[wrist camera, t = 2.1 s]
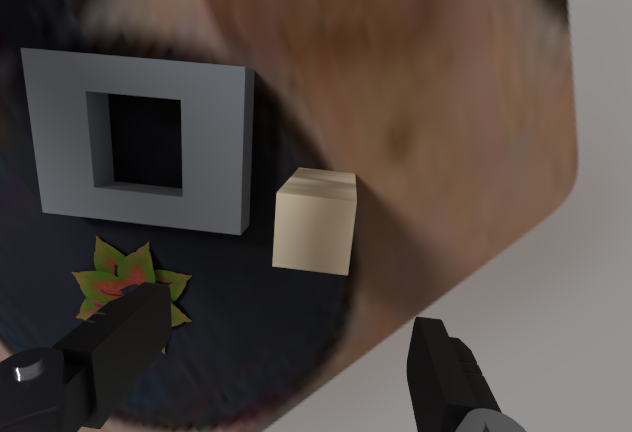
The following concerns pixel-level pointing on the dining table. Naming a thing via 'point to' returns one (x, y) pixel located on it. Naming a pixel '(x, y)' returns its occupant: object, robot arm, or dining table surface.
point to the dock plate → (96, 146)
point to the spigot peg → (315, 221)
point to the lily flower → (124, 279)
